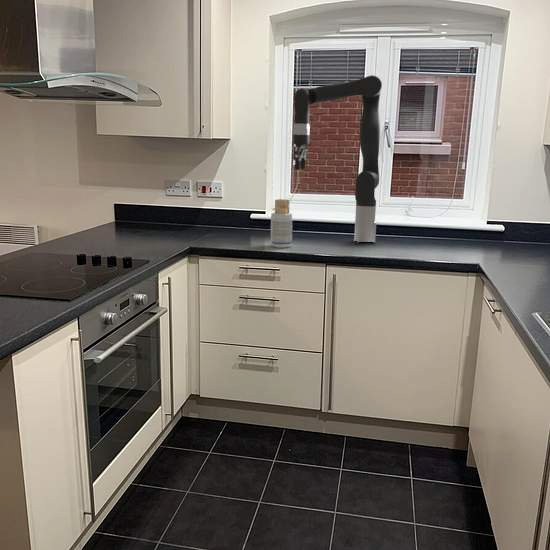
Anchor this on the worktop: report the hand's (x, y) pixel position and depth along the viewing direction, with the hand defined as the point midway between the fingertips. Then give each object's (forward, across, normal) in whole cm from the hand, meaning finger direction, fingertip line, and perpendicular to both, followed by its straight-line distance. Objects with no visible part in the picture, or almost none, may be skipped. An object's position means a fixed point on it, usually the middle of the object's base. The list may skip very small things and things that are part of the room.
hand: (300, 169), depth 275 cm
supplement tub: (+33, +23, 0) cm, 41 cm away
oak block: (+18, +23, 0) cm, 30 cm away
